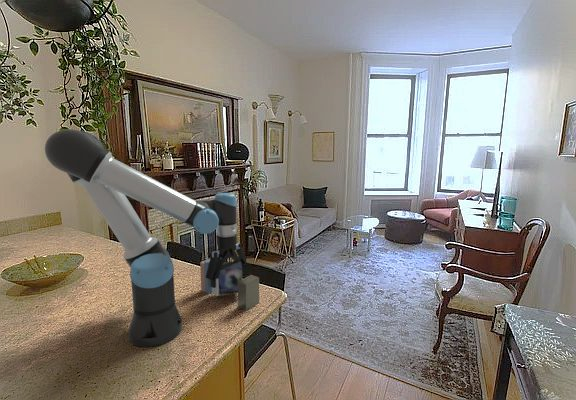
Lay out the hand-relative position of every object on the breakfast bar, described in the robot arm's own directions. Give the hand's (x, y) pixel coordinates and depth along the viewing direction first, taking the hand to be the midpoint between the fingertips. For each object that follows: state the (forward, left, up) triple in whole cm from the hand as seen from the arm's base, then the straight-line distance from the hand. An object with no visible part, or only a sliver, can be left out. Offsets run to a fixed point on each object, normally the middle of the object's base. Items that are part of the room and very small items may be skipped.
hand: (227, 288), depth 114 cm
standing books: (0, +9, -3) cm, 10 cm away
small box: (0, 0, -1) cm, 1 cm away
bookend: (0, -11, -3) cm, 11 cm away
